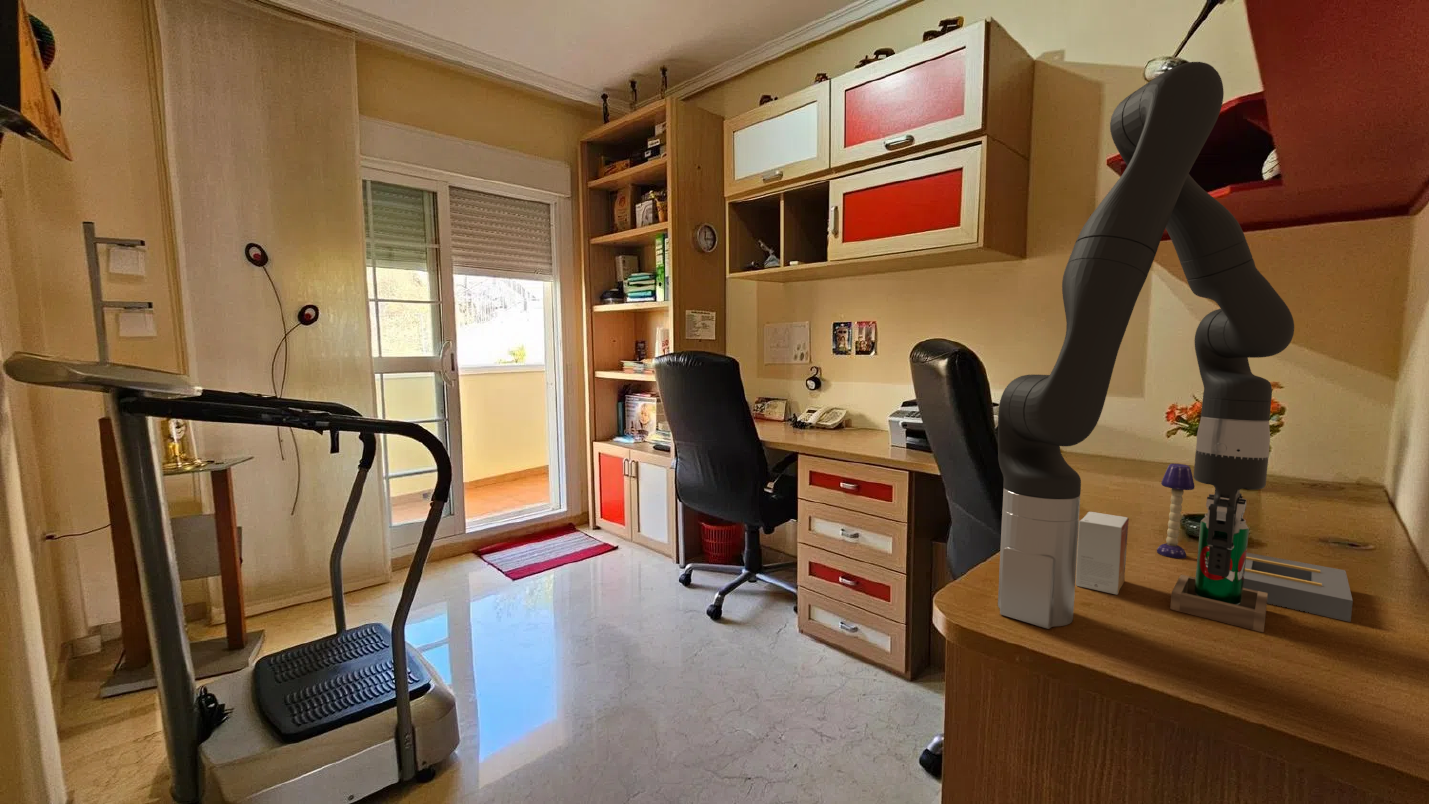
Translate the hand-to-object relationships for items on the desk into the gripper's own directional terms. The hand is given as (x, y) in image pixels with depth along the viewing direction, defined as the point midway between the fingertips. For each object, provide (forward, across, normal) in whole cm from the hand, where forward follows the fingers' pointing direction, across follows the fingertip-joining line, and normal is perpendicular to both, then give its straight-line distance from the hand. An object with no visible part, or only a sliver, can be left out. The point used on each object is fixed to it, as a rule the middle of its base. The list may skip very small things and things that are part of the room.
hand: (1220, 569), depth 81 cm
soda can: (+5, 0, 0) cm, 5 cm away
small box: (+6, -1, +14) cm, 15 cm away
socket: (+6, +16, -6) cm, 18 cm away
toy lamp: (+6, +24, +8) cm, 26 cm away
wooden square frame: (+6, 0, 0) cm, 6 cm away
